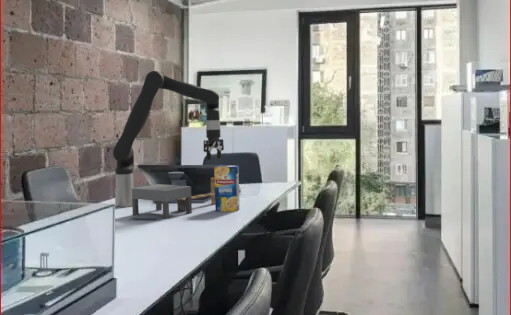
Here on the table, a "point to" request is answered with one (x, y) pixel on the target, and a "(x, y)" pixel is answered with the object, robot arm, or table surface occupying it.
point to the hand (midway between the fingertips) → (214, 159)
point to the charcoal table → (161, 197)
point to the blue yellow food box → (227, 188)
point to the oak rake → (182, 202)
